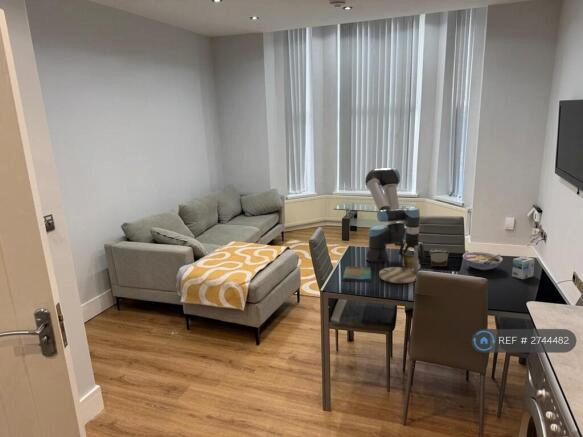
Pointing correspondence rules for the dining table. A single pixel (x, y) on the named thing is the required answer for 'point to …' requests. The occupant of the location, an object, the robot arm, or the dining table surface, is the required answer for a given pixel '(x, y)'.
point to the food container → (439, 257)
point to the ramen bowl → (482, 260)
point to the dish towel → (357, 274)
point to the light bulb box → (523, 267)
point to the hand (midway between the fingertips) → (411, 267)
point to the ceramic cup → (409, 259)
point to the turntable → (400, 272)
